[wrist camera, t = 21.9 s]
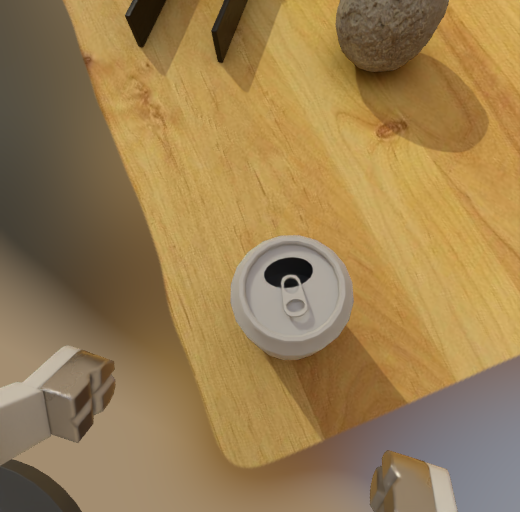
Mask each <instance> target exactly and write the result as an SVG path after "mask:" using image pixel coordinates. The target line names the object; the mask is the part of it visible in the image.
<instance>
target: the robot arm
mask: <svg viewBox="0 0 520 512" xmlns="http://www.w3.org/2000/svg"><path fill="white" fill-rule="evenodd" d="M114 369H115V368H114V361H112V360H109V359H106V358H104V357H101V356H98V355H95V354H92V353H90V352H87V351H84V350H81V349H78V348H75V347H72V346H69V345H67V346H64V347H62V348H61V349H59V350H58V351H57V352H56V353H55V354H54V355H53V356H52V357H50V358H49V359H48V360H47V361H46V362H45V363H44V364H43V365H42V366H40V367H39V368H38V369H37V370H36V371H35V372H34V373H33V374H32V375H30V376H29V377H28V378H27V379H26V380H25V381H24V382H23V383H20V382H15V383H12V384H10V385H7V386H4V387H2V388H0V466H1V465H2V464H4V463H6V462H7V461H9V460H11V459H12V458H14V457H16V456H17V455H19V454H21V453H23V452H25V451H26V450H28V449H30V448H31V447H33V446H35V445H36V444H38V443H40V442H41V441H43V440H45V439H47V438H49V437H50V436H51V434H52V435H55V436H58V437H61V438H64V439H68V440H70V441H73V442H76V443H78V442H79V441H80V440H81V439H82V437H83V436H84V435H85V434H86V432H87V431H88V430H89V428H90V427H91V426H92V424H93V416H94V415H96V414H98V413H100V412H102V411H103V410H104V409H105V408H106V406H107V405H108V403H109V402H110V400H111V398H112V396H113V394H114V389H115V379H114V377H113V376H112V375H111V373H112V372H113V371H114ZM370 506H371V507H372V509H373V511H374V512H458V511H457V506H456V501H455V497H454V493H453V488H452V484H451V479H450V475H449V473H448V471H447V469H444V468H441V467H438V466H435V465H432V464H429V463H425V462H424V461H421V460H418V459H415V458H412V457H408V456H405V455H402V454H399V453H396V452H392V451H389V450H387V451H386V452H385V453H384V455H383V457H382V466H380V467H378V468H376V470H375V473H374V475H373V478H372V483H371V489H370Z"/></svg>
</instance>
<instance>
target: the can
mask: <svg viewBox="0 0 520 512" xmlns="http://www.w3.org/2000/svg"><path fill="white" fill-rule="evenodd" d="M353 302H354V300H353V288H352V281H351V278H350V276H349V274H348V271H347V269H346V266H345V264H344V263H343V262H342V261H341V260H340V259H339V257H338V256H337V255H336V254H335V253H334V251H333V250H331V249H330V248H328V247H327V246H325V245H323V244H322V243H320V242H319V241H317V240H314V239H310V238H307V237H303V236H299V235H293V236H278V237H275V238H272V239H269V240H266V241H263V242H262V243H260V244H259V245H258V246H256V247H255V248H253V249H252V250H250V251H249V252H248V253H247V254H246V256H245V257H244V258H243V260H242V261H241V262H240V264H239V265H238V266H237V269H236V272H235V274H234V277H233V280H232V283H231V306H232V309H233V312H234V315H235V319H236V322H237V323H238V324H239V326H240V327H241V329H242V330H243V332H244V333H245V334H246V336H247V337H248V338H249V339H250V340H251V341H252V342H253V343H254V344H255V345H257V346H258V347H259V348H260V349H262V350H263V351H264V352H266V353H267V354H268V355H270V356H273V357H276V358H279V359H282V360H299V359H302V358H305V357H307V356H310V355H312V354H314V353H316V352H318V351H319V350H321V349H323V348H324V347H325V346H327V345H328V344H329V343H331V342H332V341H333V340H334V339H336V338H337V337H338V336H339V334H340V333H341V331H342V330H343V328H344V327H345V325H346V324H347V322H348V321H349V318H350V314H351V310H352V306H353Z"/></svg>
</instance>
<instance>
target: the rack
mask: <svg viewBox="0 0 520 512" xmlns="http://www.w3.org/2000/svg"><path fill="white" fill-rule="evenodd" d="M165 1H166V0H133V1H132V3H131V5H130V7H129V9H128V10H127V12H126V14H125V17H126V19H127V21H128V24H129V26H130V28H131V30H132V33H133V35H134V37H135V39H136V42H137V44H138V46H139V47H143V46H144V44H145V42H146V40H147V38H148V36H149V34H150V32H151V30H152V28H153V26H154V24H155V22H156V20H157V17H158V15H159V13H160V11H161V9H162V7H163V5H164V3H165ZM246 3H247V0H224V2H223V5H222V7H221V9H220V12H219V14H218V16H217V19H216V21H215V23H214V26H213V28H212V30H211V32H212V36H213V41H214V46H215V50H216V55H217V60H218V62H223V60H224V57H225V55H226V52H227V50H228V47H229V45H230V42H231V40H232V37H233V35H234V32H235V30H236V28H237V25H238V23H239V20H240V18H241V15H242V13H243V10H244V8H245V5H246Z"/></svg>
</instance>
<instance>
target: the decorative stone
mask: <svg viewBox="0 0 520 512" xmlns="http://www.w3.org/2000/svg"><path fill="white" fill-rule="evenodd" d="M448 2H449V0H340V3H339V6H338V9H337V15H336V31H337V35H338V40H339V44H340V47H341V49H342V52H343V53H344V54H345V56H346V57H347V58H348V59H349V60H350V61H352V62H353V63H354V64H355V65H356V66H357V67H358V68H360V69H363V70H366V71H371V72H377V71H381V72H382V71H388V70H390V71H392V70H395V69H397V68H400V66H403V65H405V64H406V63H407V61H408V60H411V59H412V58H414V57H415V56H416V55H417V54H418V53H419V52H420V51H421V50H422V48H423V47H424V46H426V44H427V43H428V41H429V40H430V38H431V37H432V35H433V33H434V32H435V30H436V29H437V26H438V25H439V23H440V21H441V19H442V18H443V17H444V15H445V12H446V9H447V6H448Z"/></svg>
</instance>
